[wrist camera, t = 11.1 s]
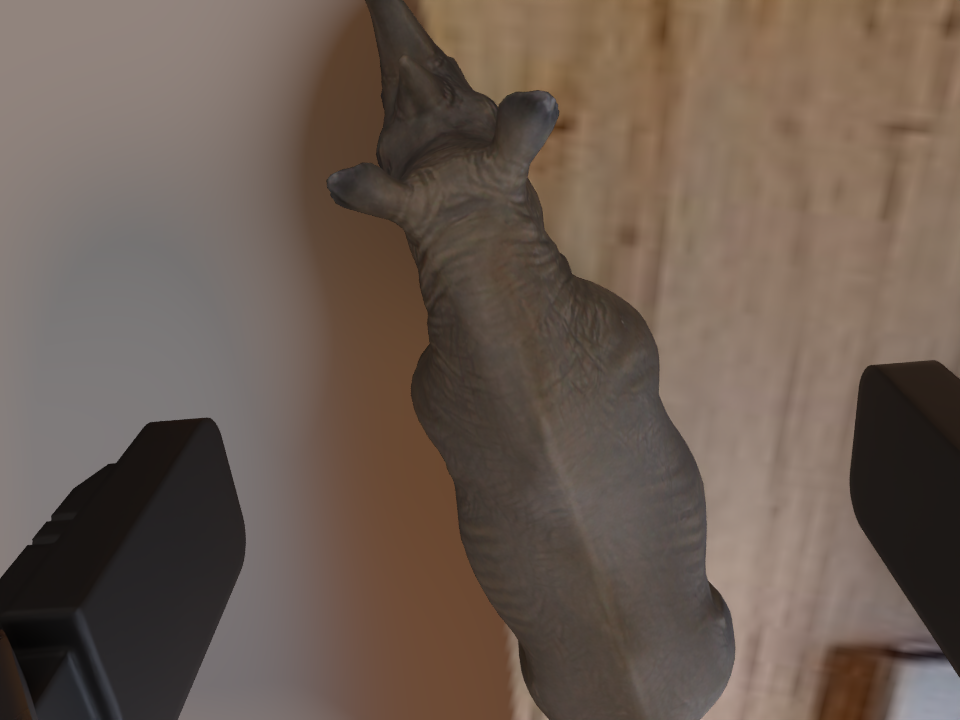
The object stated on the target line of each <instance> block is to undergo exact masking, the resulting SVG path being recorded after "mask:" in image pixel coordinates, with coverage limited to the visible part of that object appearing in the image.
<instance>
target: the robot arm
mask: <svg viewBox="0 0 960 720" xmlns="http://www.w3.org/2000/svg"><path fill="white" fill-rule="evenodd" d="M850 494H851V500H852V505H853V509H854V512H855V515H856V518H857V521H858V523H859V525H860V527H861V528H862V530H863V532H864V533H865V535H866V536H867V538H868V539H869V541H870V542H871V544H872V545H873V547H874V548H875V550H876V551H877V553H878V554H879V556H880V557H881V559H882V560H883V562H884V563H885V565H886V566H887V568H888V570H889V571H890V573H891V574H892V576H893V577H894V579H895V580H896V582H897V583H898V585H899V586H900V588H901V589H902V591H903V592H904V594H905V595H906V597H907V598H908V600H909V601H910V603H911V604H912V606H913V607H914V609H915V610H916V612H917V614H918V615H919V617H920V618H921V620H922V621H923V623H924V624H925V626H926V627H927V629H928V630H929V632H930V633H931V635H932V636H933V638H934V639H935V641H936V642H937V644H938V645H939V647H940V648H941V650H942V651H943V653H944V655H945V656H946V658H947V659H948V661H949V662H950V664H951V665H952V667H953V668H954V670H955V671H956V673H957V674H958V676H959V677H960V379H959V378H957V377H956V376H955V375H954V374H953V373H952V372H951V371H949V370H948V369H947V368H946V367H945V366H944V365H943V364H941V363H940V362H938V361H935V360H930V361H918V362H906V363H893V364H881V365H870V366H868V367H867V368H866V369H865V370H864V372H863V374H862V376H861V379H860V384H859V391H858V401H857V410H856V420H855V430H854V439H853V449H852V459H851V468H850ZM51 518H52V520H51V521H49V522H46V523H45V524H44V525H43V527H42V528H41V529H40V530H39V532H38V533H37V534H36V535H35V537H34V538H33V539H32V540H33V543H32V545H27V546H26V548H25V549H24V550H23V551H22V552H21V554H20V555H19V556H18V557H17V559H16V560H15V561H14V562H13V563H12V565H11V566H10V567H9V568H8V570H7V571H6V572H5V573H4V575H3V576H2V577H1V578H0V720H178V718H179V715H180V713H181V711H182V708H183V706H184V703H185V701H186V699H187V696H188V694H189V691H190V689H191V687H192V685H193V682H194V680H195V677H196V675H197V673H198V670H199V668H200V666H201V663H202V661H203V659H204V656H205V654H206V651H207V649H208V647H209V645H210V642H211V640H212V637H213V635H214V633H215V630H216V628H217V626H218V623H219V621H220V619H221V616H222V614H223V612H224V609H225V607H226V604H227V602H228V600H229V597H230V595H231V593H232V590H233V588H234V586H235V583H236V581H237V579H238V576H239V574H240V571H241V569H242V566H243V562H244V556H245V546H246V537H245V536H246V535H245V525H244V520H243V515H242V512H241V508H240V504H239V500H238V497H237V493H236V489H235V485H234V482H233V478H232V474H231V470H230V466H229V463H228V459H227V456H226V452H225V448H224V444H223V440H222V437H221V433H220V431H219V429H218V427H217V425H216V423H215V422H214V421H213V420H212V419H211V418H198V419H184V420H172V421H160V422H150V423H148V424H147V425H146V426H145V427H144V428H143V429H142V430H141V432H140V433H139V434H138V436H137V437H136V438H135V439H134V441H133V442H132V443H131V445H130V446H129V447H128V448H127V450H126V451H125V452H124V454H123V455H122V456H121V458H120V459H119V460H118V461H117V463H115V464H108V465H107V466H105V467H104V468H102V469H101V470H99V471H98V472H97V473H95V474H94V475H92V476H91V477H89V478H88V479H87V480H85V481H84V482H82V483H81V484H80V485H78V486H77V487H75V488H74V489H73V490H72V491H71V492H70V494H69V495H68V496H67V497H66V499H65V500H64V501H63V502H62V503H61V505H60V506H59V507H58V508H57V509H56V511H55V512H54V513H53V514H52V516H51Z"/></svg>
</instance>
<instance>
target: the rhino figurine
mask: <svg viewBox="0 0 960 720" xmlns="http://www.w3.org/2000/svg"><path fill="white" fill-rule="evenodd" d="M365 1H366V4H367V6H368V8H369V11H370V14H371V18H372V22H373V27H374V32H375V37H376V42H377V47H378V51H379V57H380V67H381V75H382V93H381V98H382V102H383V108H384V110H385V117H384V124H383V128H382V131H381V133H380V136H379V140H378V145H377V153H376V155H377V160H378V164H379V166H380V167H378V166H376V165H374V164H372V163H361V164H359V165H356V166H355V167H351V168H347V169H343V170H340V171H338V172H335V173H333V174H332V175H330V177H329V178H328V179H327V188H328V189H329V191H330V192H331V194H330V195H331V197H332V198H333V199H334V201H335V203H336V204H338V205H340V206H342V207H344V208H347V209H350V210H354V211H357V212H361V213H365V214H368V215H372V216H376V217H379V218H384V219H388V220H391V221H392V222H394V223H396V224H397V225H399V226H400V227H401V228H403V230H404V231H405V234H406V238H407V240H408V244H409V247H410V250H411V253H412V255H413V258H414V260H415V263H416V265H417V268H418V272H419V282H420V288H421V293H422V296H423V300H424V304H425V306H426V309H427V311H428V322H427V324H428V334H429V342H430V344H429V345H428V347H427V348H426V349H425V351H424V352H423V353H422V355H421V357H420V359H419V361H418V364H417V368H416V370H415V372H414V374H413V378H412V384H411V396H412V401H413V406H414V410H415V412H416V414H417V417H418V420H419V422H420V423H421V425H422V427H423V429H424V430H425V432H426V434H427V435H428V437H429V439H430V440H431V441H432V443H433V444H434V445H435V447H436V448H437V449H438V451H439V452H440V454H441V456H442V457H443V459H444V461H445V462H446V466H447V469H448V472H449V474H450V475H451V477H452V479H453V481H454V484H455V490H456V500H457V510H458V520H459V529H460V534H461V540H462V542H463V545H464V548H465V551H466V554H467V557H468V560H469V562H470V564H471V567H472V569H473V572H474V574H475V576H476V578H477V580H478V581H479V583H480V585H481V587H482V589H483V590H484V592H485V594H486V596H487V597H488V599H489V601H490V602H491V604H492V605H493V607H494V608H495V610H496V611H497V613H498V614H499V615H500V617H501V618H502V619H503V620H504V622H505V623H506V624H507V625H508V627H509V628H510V629H511V630H512V632H513V633H514V634H515V636H516V637H517V639H518V645H519V658H520V664H521V671H522V675H523V678H524V681H525V683H526V686H527V688H528V690H529V693H530V695H531V697H532V698H533V700H534V702H535V703H536V705H537V706H538V707H539V709H540V710H541V711H542V712H543V713H544V714H545V715H546V716H547V718H548V719H549V720H700V719H701V718H702V717H703V716H704V715H705V714H706V713H707V712H708V711H709V709H710V708H711V707H712V706H713V705H714V703H715V702H716V701H717V700H718V699H719V697H720V696H721V694H722V693H723V691H724V689H725V687H726V685H727V683H728V680H729V678H730V676H731V672H732V668H733V664H734V660H735V638H734V631H733V624H732V618H731V613H730V610H729V608H728V606H727V604H726V602H725V601H724V599H723V597H722V596H721V594H720V593H719V592H718V590H717V589H716V588H715V587H714V586H713V585H712V584H711V583H710V582H709V581H708V580H707V576H706V569H705V557H706V529H707V521H706V502H705V493H704V485H703V481H702V478H701V475H700V472H699V469H698V466H697V464H696V462H695V459H694V457H693V455H692V453H691V451H690V450H689V448H688V446H687V444H686V442H685V441H684V439H683V438H682V436H681V434H680V433H679V431H678V430H677V429H676V427H675V426H674V425H673V423H672V421H671V420H670V418H669V417H668V415H667V413H666V410H665V408H664V406H663V403H662V401H661V399H660V396H659V354H658V349H657V345H656V343H655V340H654V338H653V336H652V333H651V331H650V329H649V328H648V326H647V324H646V322H645V320H644V319H643V317H642V316H641V315H640V313H639V312H638V311H637V310H636V309H635V308H634V307H632V306H631V305H630V304H629V303H628V302H626V301H625V300H623V299H622V298H620V297H619V296H617V295H616V294H614V293H612V292H611V291H609V290H607V289H605V288H603V287H601V286H599V285H597V284H595V283H593V282H591V281H588V280H584V279H581V278H578V277H576V276H574V275H573V274H572V272H571V269H570V266H569V263H568V261H567V259H566V257H565V256H564V255H562V254H561V253H559V251H558V249H557V246H556V244H555V243H554V242H553V241H552V240H551V239H550V237H549V236H548V234H547V233H546V231H545V230H544V223H543V211H542V207H541V204H540V201H539V198H538V195H537V193H536V191H535V190H534V188H533V186H532V184H531V183H530V181H529V179H528V177H527V176H528V171H529V166H530V163H531V162H532V160H533V159H534V157H535V156H536V155H537V153H538V152H539V151H540V149H541V148H542V147H543V145H544V144H545V142H546V140H547V138H548V137H549V135H550V133H551V132H552V130H553V128H554V126H555V123H556V121H557V119H558V116H559V110H558V104H557V103H556V99H555V98H554V97H553V96H552V95H551V94H550V93H548V92H545V91H539V90H536V91H529V92H515V93H512V94H510V95H507V96H506V97H505V98H504V99H503V101H502V102H501V103H500V104H499V107H497V105H496V104H495V102H494V101H492V100H491V99H490V98H488V97H487V96H485V95H483V94H481V93H478V92H476V91H474V90H473V89H472V88H471V87H470V86H469V84H468V82H467V81H466V79H465V77H464V75H463V73H462V71H461V69H460V68H459V66H458V64H457V62H456V61H455V60H454V58H451V57H449V56H446V55H445V53H444V52H443V51H442V50H441V49H440V48H439V47H438V46H437V45H436V44H435V43H434V42H433V40H432V39H431V38H430V36H429V35H428V34H427V33H426V31H425V30H424V29H423V27H422V26H421V24H420V23H419V22H418V20H417V19H416V17H415V16H414V15H413V13H412V12H411V10H410V9H409V8H408V6H407V5H406V3H405V2H404V1H403V0H365Z"/></svg>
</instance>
